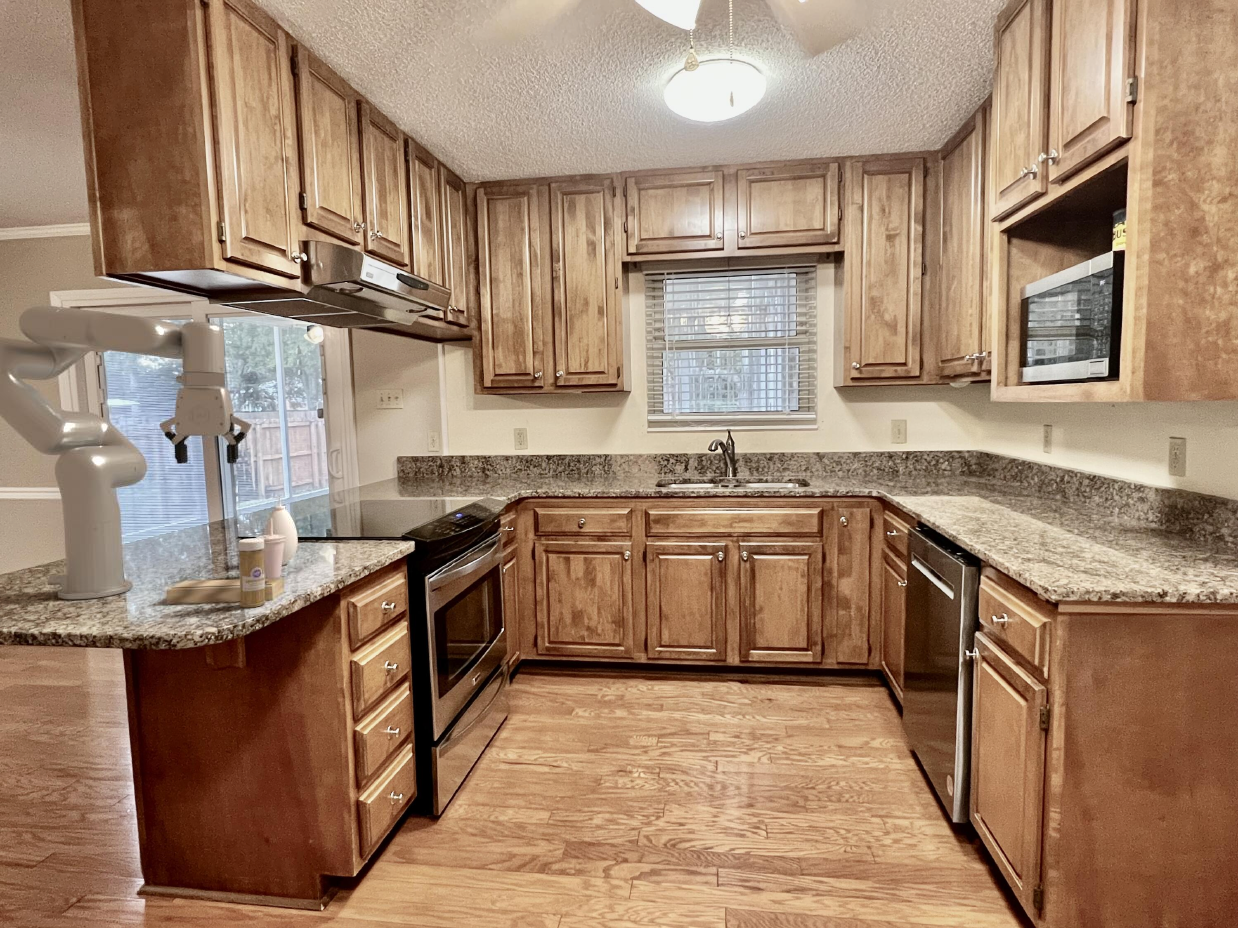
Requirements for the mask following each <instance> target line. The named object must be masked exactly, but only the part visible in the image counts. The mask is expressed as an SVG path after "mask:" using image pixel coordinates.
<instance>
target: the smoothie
mask: <svg viewBox="0 0 1238 928" xmlns="http://www.w3.org/2000/svg"><path fill="white" fill-rule="evenodd" d="M255 538H260V539H263V540H264V548H263V549H264V550H263V556H264V575H265V579H268V578H281V576H282V575H281V574H282V567H283V565H282V557H283V548H284V541H285V540H286V539H285V535H279V534H273V526H272V518H270V535H264V534H263V535H260V536H257V537H255Z"/></svg>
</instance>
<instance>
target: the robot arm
mask: <svg viewBox="0 0 1238 928" xmlns="http://www.w3.org/2000/svg"><path fill="white" fill-rule="evenodd" d="M18 327H19V329H20V331H21V333H22V334H23V335H24V336H25V337H27V339H29V340H26V339H25V340H24V339H18V338H12V337H10V338H9V337H4V336H3V337H1V336H0V417H1V418H2V419H3V420H4V421H5V423H7V424H8V425H9V426H10V427H11V428H12V429H13V430H14V431H16V432H17V434H19V436H21V437H22V438H23V439H24V440H25V441H26V442H28V443H27V444H29V445H30V446H31V447H32V448H33V449H35V450H36V451H37V452H40V453H41V454H44V455H48V456H59V457H58V458H57V460H56V462H55V466H54V476H55V479H56V483H57V486H58V489H59V492H60V493H59V494H60V498H61V502H62V515H63V529H64V532H63V533H64V549H65V565H66V567H65V568H66V573H63V574H50V575H48V579H47V586H57V585H58V586H60V587H61V589H59V590H58V591H57V597H58V598H60V599H63V600H88V599H96V598H98V599H99V598H104V597H109V596H113V595H115V596H116V595H118V594H122V593H125V592H127V591H128V592H129V591H130V590H131V589H133V588H134V587H133V586H134V585H133V582H132V581H130V580H126V579H124V560H123V558H124V557H123V538H122V519H121V515H122V514H121V508H120V503H119V502H118V499H117V498H116V496H115V494H114V492H113V490H112V489H117V488H119V489H120V488H125V487H130V486H133V485H136V484H137V483H140V482H141V481H142V480H143V479H144V478H145V476H146V474H147V472H148V471H147V469H148V465H147V461H146V458H145V456H144V455H143V453H142V452H141V450H140V449H139V448H138V447H137V446H136V445H135V444H134V443H132V442H131V441H130V439H128V438H127V437H126V436H125V435H124V434H123V433H122V431H120V430H118V428H117V427H115V426H114V425H113V423H111V422H110V421H109V420H107V418H105V417H102V416H101V415H99V414H97V413H93V412H89V411H70V410H64V409H62V408H60V407H59V406H57V405H56V404H55V403H54V402H53V401H51V400H50V399H49V398H48V397H47V396H46V395H45V394H44V393H43V392H42V391H41V390H39V389H37V388H36V387H34V386H33V385H31V384H28V383H27V382H25V381H23V380H28V381H48V380H51V379H55V378H56V377H59V376H60V375H61V374H63V373H64V372H65V371H67V370H68V369H70V368H72V366H73V365H74V364H75V363H77V362H78V361H80V360H81V359H83V358H84V357H85V356H87V355H88V353H90V352H95V353H107V352H110V351H111V352H119V353H125V354H126V353H129V354H136V355H142V356H151V357H159V358H165V359H171V360H181V361H182V362H181V363H182V372H181V375H180V376H179V375H178V376H177V375H176V377H175V381H176V383H177V384H178V383H180V384H181V385H182V386H183V387H181V388H180V387H179V388H178V389H177V393H176V398H175V399H176V401H175V408H174V416H173V417H171V418H169V419H166V420H165V421H162V422H161V423H159V428H160V429H161V431H162V433H163V434H164V436H165V437H166V438H167V439H168V440H169V441H171V444H172V445H174V459H175V460H176V463H177V464H178V465H179V464H180V465H182V464H187V463H188V461H189V457H188V445H187V443H186V441H187V440H188V439H189V438H190V437H192V436H193V437H195V436H196V437H198V436H200V437H205V436H206V437H212V436H216V437H219V436H222V437H223V438H224V439H225V440H226V441H227V442H228V444H227V445H226V462H227V464H236V463H237V460H239V444H241V442H242V441H243V440H244V439H245V438H246V437H247V436H248V433H249V432H250V430H251V428H252V424H251V423H249V422H248V421H245V420H244V419H241V418H239V417H237V416H235V415H234V413H235V412H234V405H233V401H232V396H231V393H230V390H229V389H228V388H226V368H225V366H226V364H225V339H224V337H225V336H224V330H223V328H222V327H221V326H220V325H219V324H216V323H212V322H204V321H203V322H202V321H188V322H185V323H183V324H179V323H175V322H174V323H173V322H170V321H167V320H166V321H165V320H161V319H156V318H151V317H146V316H138V315H130V314H129V315H128V314H121V313H114V312H113V313H111V312H106V311H99V310H90V309H89V310H88V309H79V308H71V307H63V306H56V305H54V306H53V305H36V306H31V307H29V308H27V309H25V310H24V311H22V313H21V314H20V315H19V318H18ZM172 426H174V431H175V432H174V431H173V429H172ZM235 426H239V427H240V430H239V432H238V433H236V434H235V428H236V427H235Z"/></svg>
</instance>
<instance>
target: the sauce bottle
mask: <svg viewBox="0 0 1238 928" xmlns="http://www.w3.org/2000/svg"><path fill="white" fill-rule="evenodd" d="M281 501H282V500H281V496H278V505H276V506H274V507H273V509H274V510H273V511H272V512H271V513H270V515H269V517H268V519H267V521H266V523H265V527H264V531H263V535H270V518H272V526H273V534H279V535H285V539H286V540H285V541H284V548H283V557H282V566H286V564H288V563H290V561H291V560H293V558H294V557H295V555H296V552H297V548H298V543H299V541H298V539H299V538H298V531H297V528H296V524H295V522H294V520H293V517H292V516H291V514H290V513H289V511H288V510H287V509H286V505H282V502H281Z"/></svg>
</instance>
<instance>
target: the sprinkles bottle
mask: <svg viewBox="0 0 1238 928" xmlns="http://www.w3.org/2000/svg"><path fill="white" fill-rule="evenodd" d="M237 548H238V549H237V550H238V552H239V553H238V554H239V555H238V556H239V566H238V568H239V579H240V591H241V601H240V603H239V604H240V605H239V606H240V607H242V608H249V609H250V608H256V607H261V606H263V605H265V604H266V600H265V589H264V588H265V579H266V578H265V575H264V556H263V550H264V549H263V548H264V540H263V539H260V538H256V537H255V538H244V539H240V540H238V543H237Z"/></svg>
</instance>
